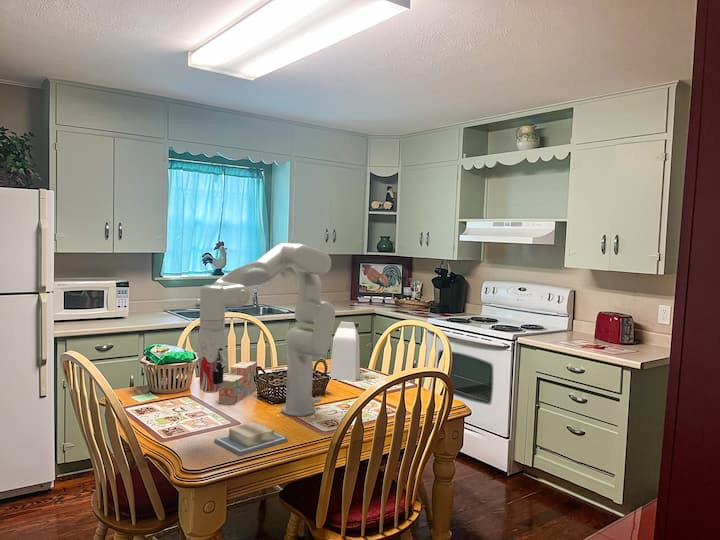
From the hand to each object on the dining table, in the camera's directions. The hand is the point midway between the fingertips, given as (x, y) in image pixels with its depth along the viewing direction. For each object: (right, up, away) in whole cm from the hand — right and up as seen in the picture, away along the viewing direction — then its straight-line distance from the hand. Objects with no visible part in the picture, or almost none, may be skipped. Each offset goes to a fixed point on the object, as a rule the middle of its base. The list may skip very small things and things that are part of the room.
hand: (211, 380), depth 176 cm
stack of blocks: (-2, -16, +48) cm, 51 cm away
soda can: (0, -3, 0) cm, 3 cm away
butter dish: (+12, -20, +1) cm, 23 cm away
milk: (+40, -16, +85) cm, 95 cm away
